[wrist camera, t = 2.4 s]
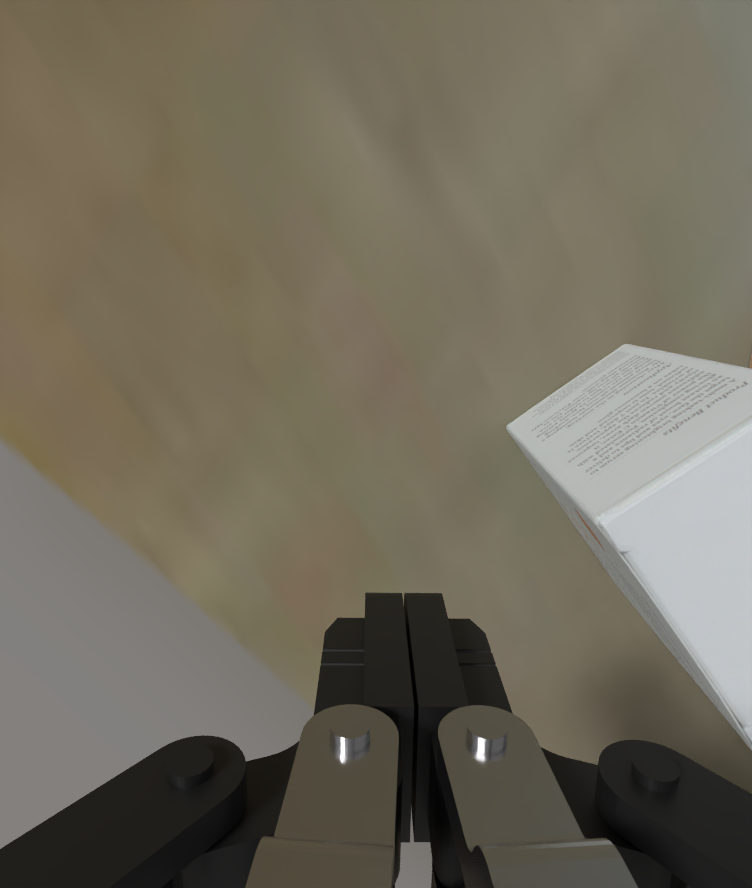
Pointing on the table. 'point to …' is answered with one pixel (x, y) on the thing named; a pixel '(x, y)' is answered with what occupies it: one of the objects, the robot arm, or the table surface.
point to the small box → (663, 500)
